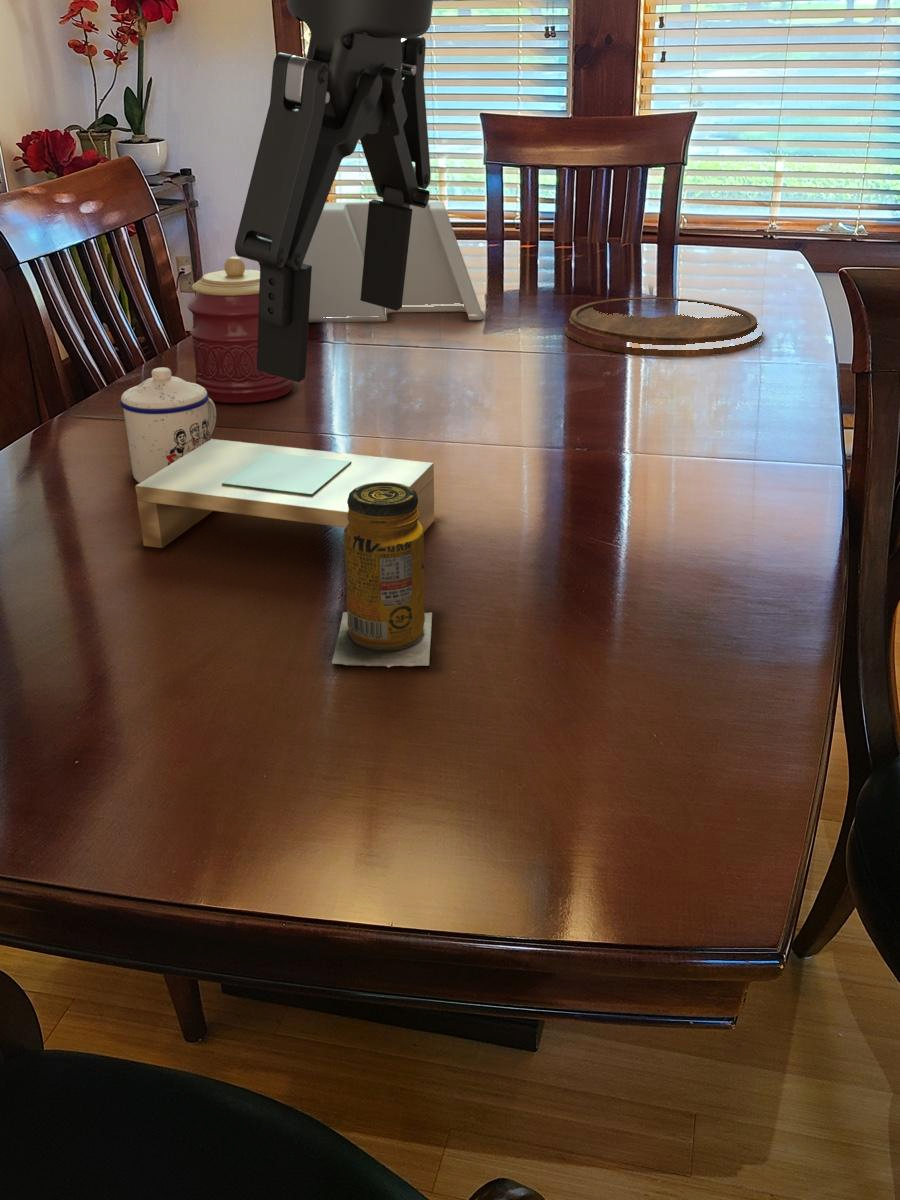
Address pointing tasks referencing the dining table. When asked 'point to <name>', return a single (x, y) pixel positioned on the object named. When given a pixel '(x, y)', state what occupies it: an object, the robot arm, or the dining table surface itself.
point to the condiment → (384, 580)
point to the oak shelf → (268, 486)
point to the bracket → (428, 268)
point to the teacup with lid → (165, 421)
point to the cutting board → (663, 330)
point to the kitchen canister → (230, 337)
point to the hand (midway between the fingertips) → (334, 336)
